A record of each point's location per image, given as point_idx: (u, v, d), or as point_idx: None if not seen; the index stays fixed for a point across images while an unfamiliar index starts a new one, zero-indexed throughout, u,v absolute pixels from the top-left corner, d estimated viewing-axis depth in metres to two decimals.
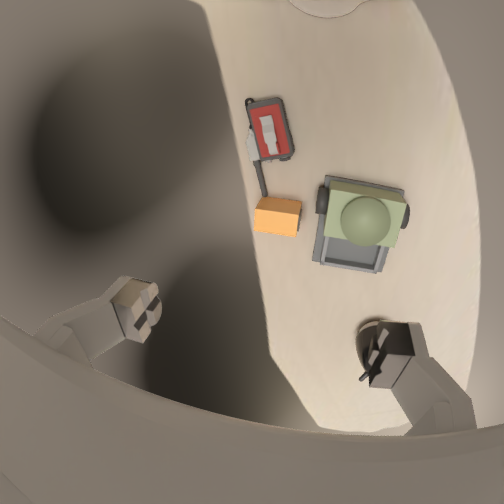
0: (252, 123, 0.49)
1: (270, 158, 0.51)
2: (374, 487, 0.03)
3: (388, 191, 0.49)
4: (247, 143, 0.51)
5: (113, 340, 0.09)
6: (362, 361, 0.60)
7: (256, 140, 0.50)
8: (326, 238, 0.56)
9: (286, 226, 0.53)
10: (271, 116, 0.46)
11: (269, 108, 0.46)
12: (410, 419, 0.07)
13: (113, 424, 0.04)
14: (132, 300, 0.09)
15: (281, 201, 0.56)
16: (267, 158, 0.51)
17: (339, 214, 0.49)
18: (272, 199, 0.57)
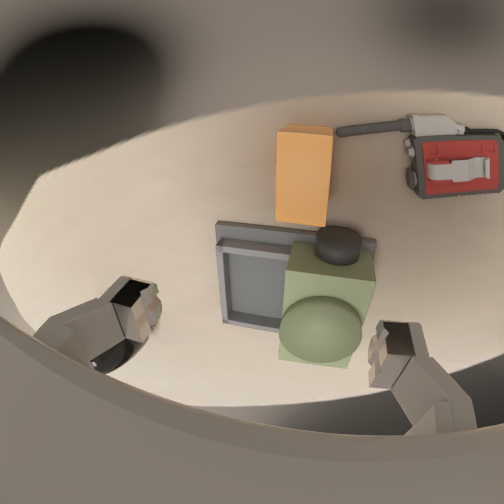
0: (477, 138, 0.20)
1: (419, 159, 0.23)
2: (374, 487, 0.03)
3: None
4: (444, 118, 0.21)
5: (113, 340, 0.09)
6: None
7: (450, 138, 0.21)
8: (268, 254, 0.32)
9: (297, 203, 0.24)
10: (486, 177, 0.21)
11: (494, 174, 0.20)
12: (410, 419, 0.07)
13: (113, 424, 0.04)
14: (132, 300, 0.09)
15: None
16: (420, 153, 0.23)
17: (329, 294, 0.28)
18: None
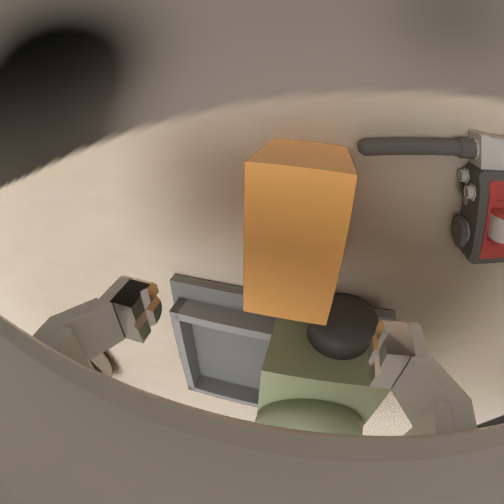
0: None
1: (482, 206, 0.13)
2: (374, 487, 0.03)
3: None
4: None
5: (113, 340, 0.09)
6: None
7: None
8: (241, 330, 0.22)
9: (281, 289, 0.14)
10: None
11: None
12: (410, 419, 0.07)
13: (113, 424, 0.04)
14: (132, 300, 0.09)
15: None
16: (485, 198, 0.12)
17: (323, 398, 0.18)
18: None
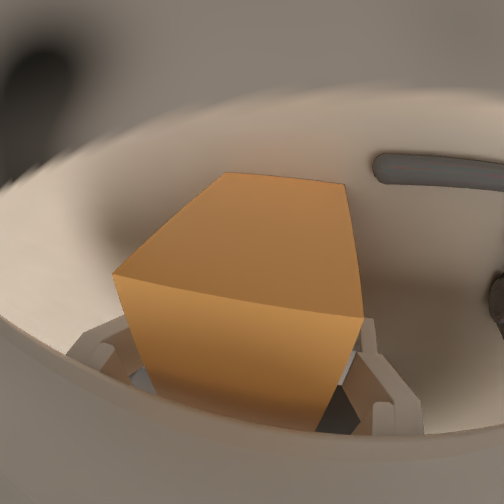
0: None
1: None
2: (374, 487, 0.03)
3: None
4: None
5: None
6: None
7: None
8: None
9: None
10: None
11: None
12: (360, 418, 0.07)
13: (113, 424, 0.04)
14: None
15: None
16: None
17: None
18: None
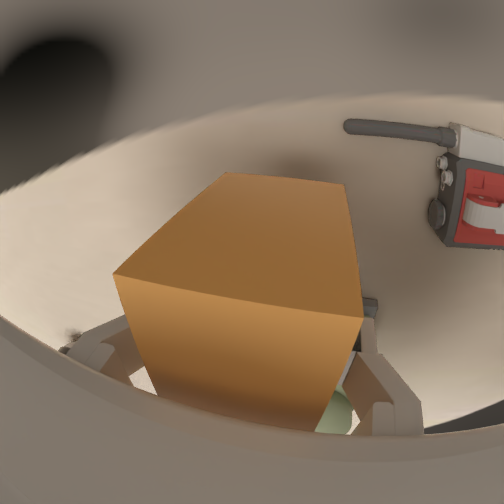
0: None
1: (458, 190, 0.15)
2: (374, 487, 0.03)
3: None
4: (499, 142, 0.12)
5: None
6: None
7: (502, 171, 0.13)
8: None
9: None
10: None
11: None
12: (360, 418, 0.07)
13: (113, 424, 0.04)
14: None
15: None
16: (461, 183, 0.14)
17: None
18: None
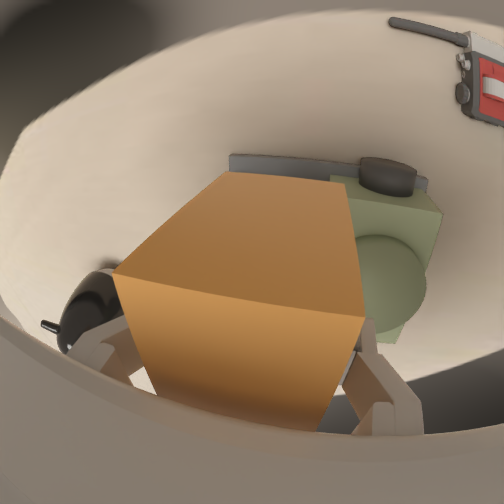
0: None
1: (475, 71, 0.14)
2: (374, 487, 0.03)
3: None
4: (499, 47, 0.12)
5: None
6: (69, 314, 0.30)
7: None
8: None
9: None
10: None
11: None
12: (360, 418, 0.07)
13: (113, 424, 0.04)
14: None
15: None
16: (476, 66, 0.14)
17: (386, 231, 0.20)
18: None
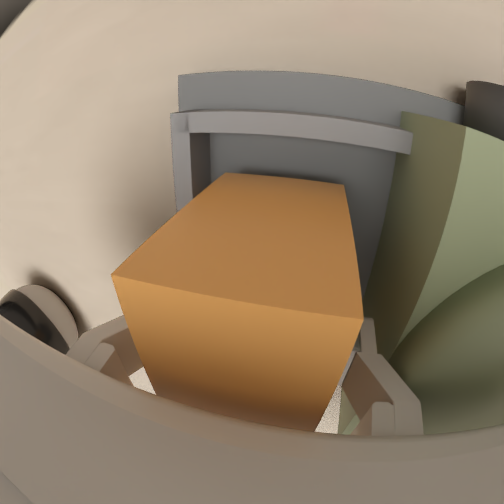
0: None
1: None
2: (374, 487, 0.03)
3: None
4: None
5: None
6: None
7: None
8: (342, 127, 0.09)
9: None
10: None
11: None
12: (360, 418, 0.07)
13: (113, 424, 0.04)
14: None
15: None
16: None
17: None
18: None
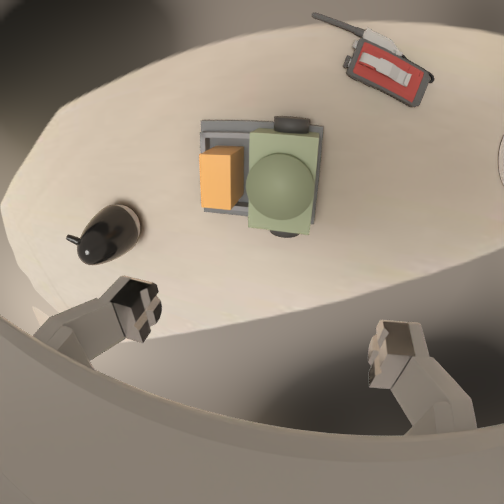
0: (408, 62, 0.28)
1: (358, 49, 0.29)
2: (374, 487, 0.03)
3: None
4: (388, 40, 0.28)
5: (113, 340, 0.09)
6: (89, 228, 0.45)
7: (387, 51, 0.29)
8: (239, 135, 0.40)
9: (213, 196, 0.40)
10: (404, 85, 0.30)
11: (413, 90, 0.30)
12: (410, 419, 0.07)
13: (113, 424, 0.04)
14: (132, 300, 0.09)
15: (241, 173, 0.43)
16: (360, 46, 0.29)
17: (284, 150, 0.36)
18: (241, 161, 0.43)
